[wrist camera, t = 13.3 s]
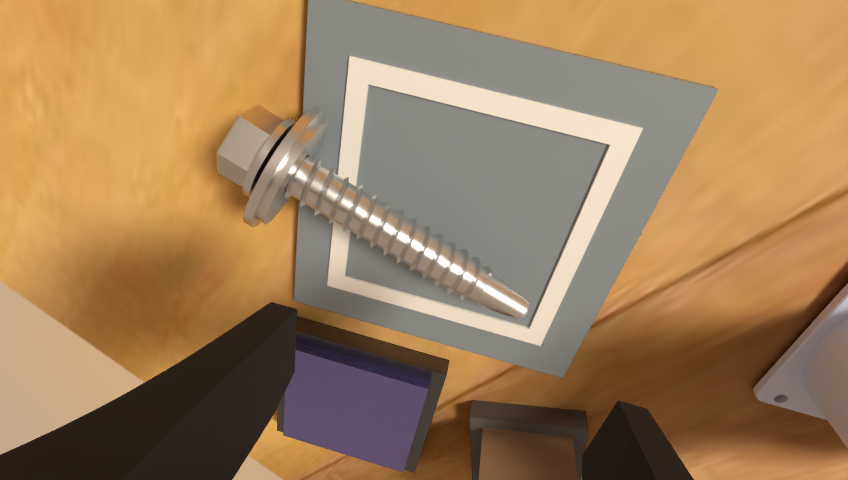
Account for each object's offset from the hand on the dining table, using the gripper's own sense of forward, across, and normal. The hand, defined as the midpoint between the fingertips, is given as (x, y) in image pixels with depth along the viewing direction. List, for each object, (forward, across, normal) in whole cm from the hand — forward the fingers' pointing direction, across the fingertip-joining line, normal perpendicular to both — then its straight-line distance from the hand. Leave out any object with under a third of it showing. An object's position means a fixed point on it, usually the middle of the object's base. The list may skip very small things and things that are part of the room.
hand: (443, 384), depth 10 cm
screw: (+10, +3, +1) cm, 10 cm away
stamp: (+10, -6, +14) cm, 18 cm away
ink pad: (+10, +4, +14) cm, 17 cm away
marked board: (+10, +1, +1) cm, 10 cm away
